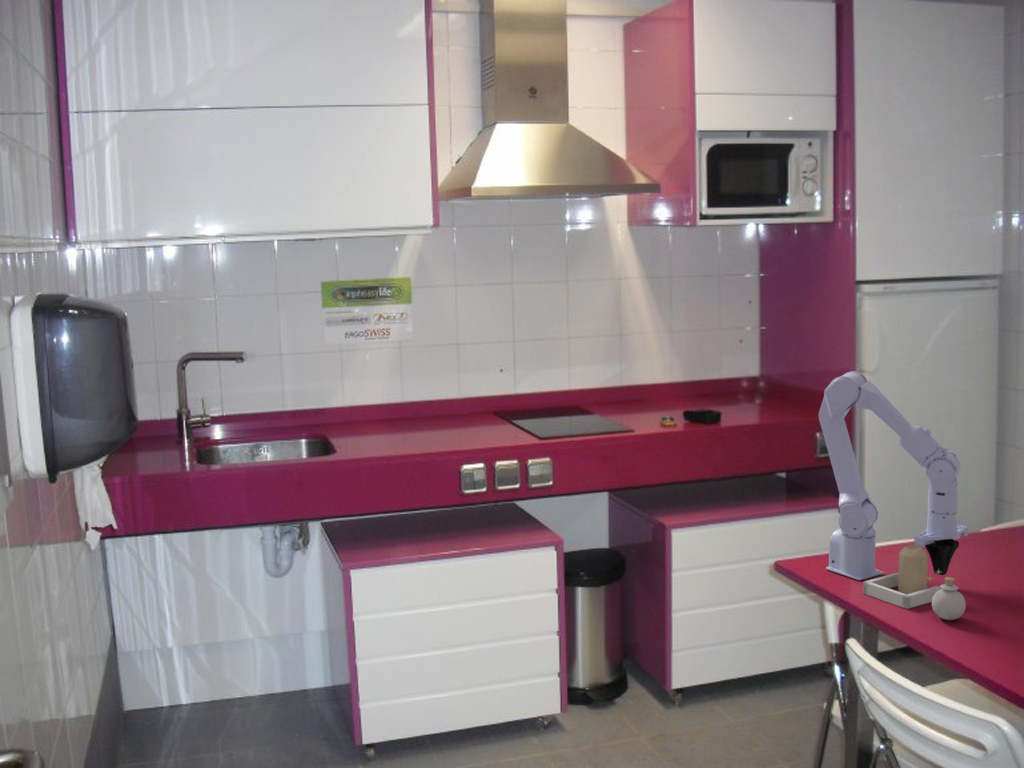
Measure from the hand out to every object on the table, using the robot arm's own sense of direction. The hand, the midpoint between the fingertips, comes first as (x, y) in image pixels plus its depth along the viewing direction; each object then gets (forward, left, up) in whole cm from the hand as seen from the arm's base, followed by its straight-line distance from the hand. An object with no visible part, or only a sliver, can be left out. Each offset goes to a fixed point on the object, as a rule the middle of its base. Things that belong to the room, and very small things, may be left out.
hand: (940, 573), depth 219 cm
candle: (0, -9, -3) cm, 9 cm away
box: (0, -11, -2) cm, 11 cm away
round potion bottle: (+13, -15, -3) cm, 20 cm away
